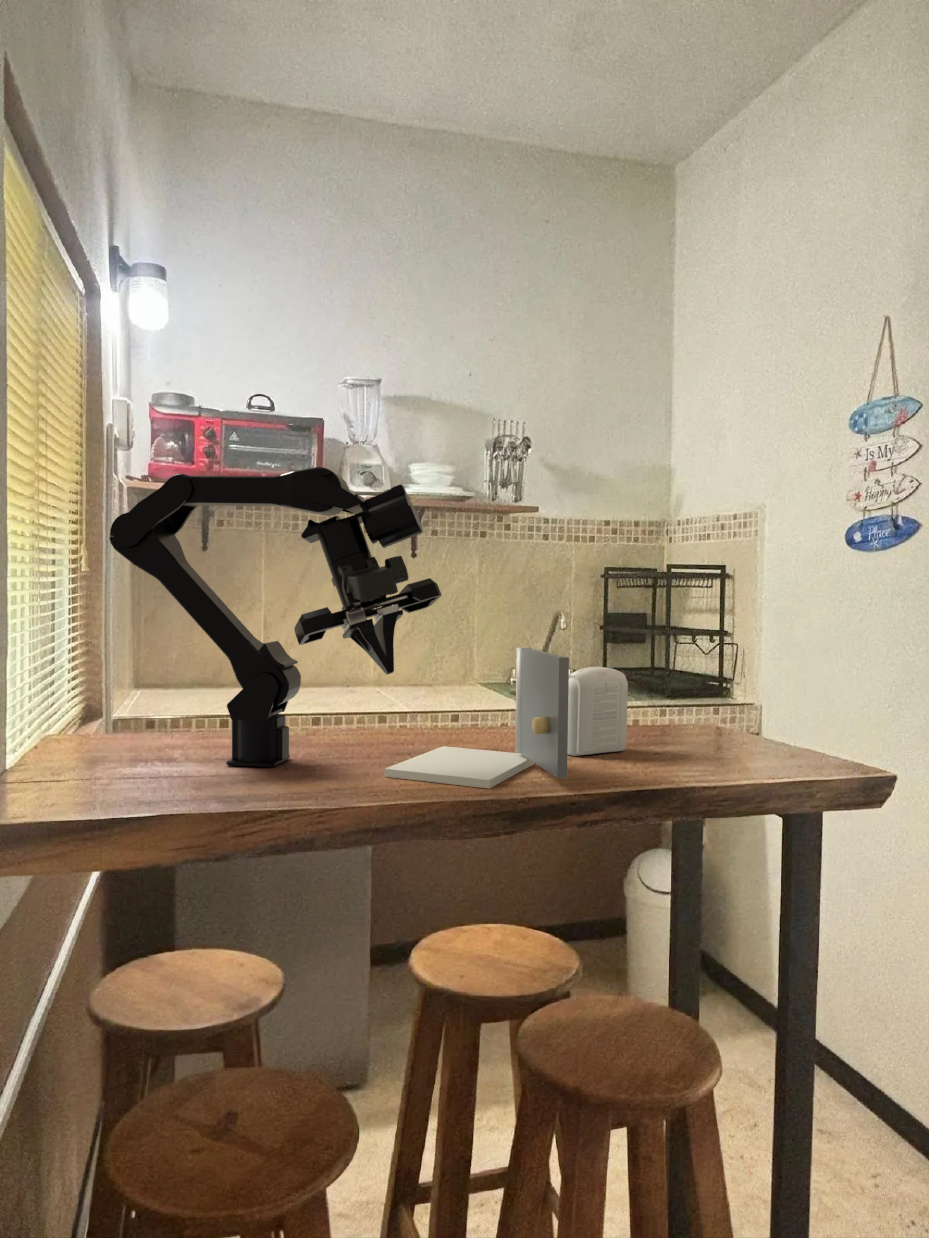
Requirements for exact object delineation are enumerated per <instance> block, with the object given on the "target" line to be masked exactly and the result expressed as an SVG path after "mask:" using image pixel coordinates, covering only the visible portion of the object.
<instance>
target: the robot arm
mask: <svg viewBox="0 0 929 1238" xmlns="http://www.w3.org/2000/svg"><path fill="white" fill-rule="evenodd" d="M199 506H214V507H216V506H217V507H218V506H221V507H224V506H225V507H226V506H228V507H281V508H284V509H285V508H286V509H290V510H295V511H301V512H303V513H309V514H315V515H319V516H324V517H326V516H327V517H330V516H331V517H330V518H327V519H325V520H322V521H320V522H317V521H314V520H312V519H308V520H307V525H306V527H304V530H303V531H302V533H301V535H300V537H301V539H302V540H305V541H306V542H308V543H310V544H313V543H316V542H318V541H319V543H320V546H321V548H322V551H323V554H324V557H325V560H326V563H327V566H328V569H329V571H330V574H331V576H332V578H331V583H332V585H333V587H335V588H336V591H337V594H338V596H339V600H340V603H341V605H342V607H341V610H339V611H334V612H332V611H331V610H330V608H328V607H323V608H320V609H319V608H318V609H317V610H312V611H308V612H305V613H302V614H301V615H300V617H299V618H298V621H297V622H296V624H295V626H294V634H295V637H296V639H297V643H298V646H302V645H306V644H309V643H313V642H316V641H320V640H322V639H323V637H324V636H325V633H326V631H328V630H329V631H330V630H332V629H336V628H338V627H341V628H342V629H343V634H342V638H343V639H344V640H345V639H346V640H347V639H351V640H352V641H353V642H355V644H357V645H358V646H359V647H360V648H362V650H364V652H365V653H367V654H368V656H369V657H370V658H371V659H372V660H373V661H374V662H375V663H376V665H377V666H378V667H379V668H380V669H381V670H382V671H383V673H384V674H385V675H391V674H393V673H394V672H395V661H394V660H395V657H394V656H395V654H394V650H395V649H394V636H395V629H396V628H395V627H396V624H397V622H398V620H400V619H401V618H402V617H403V616H404V612H405V613H408V614H410V613H413V612H417V611H421V610H424V609H427V608H429V607H431V606H432V605H434V604H435V602H437V601H438V600H439V599H440V598H441V597H442V593H441V591H440V590H441V589H440V587H439V585H438V583H437V581H435V580H434V579H432V578H430V577H429V578H426V579H421V580H418V581H414V582H410V583H408V584H406V585H405V586H404V587H403V589H401V590H400V591H399V589H398V586H397V584H400V583H404V582H407V581H408V580H409V573H408V569H407V566H406V563H405V561H404V559H403V556H402V555H396V556H392V557H389V558H385V560H384V566H380V565H379V562H378V560H377V558H376V556H372V553H371V551H370V548H369V544H368V542H367V540H366V539H367V538H366V536H365V534H364V530H363V528H362V525H363V527H364V529H365V532H366V534H367V536H368V539H369V541H370V542H371V543H372V544H373V545H375V544H377V543H378V542H379V544H380V546H381V547H382V549H385V548H388V547H391V546H393V545H395V544H397V543H401V542H403V541H405V540H408V539H411V538H413V537H415V536H418V535H420V534H423V533H424V528H423V525H422V523H421V519H420V517H419V514H418V511H417V509H416V508H415V507H414V505H413V503H412V501H411V499H410V497H409V495H408V493H407V491H406V488H405V486H404V485H403V484H398V485H397V484H396V486H395V485H394V486H393V487H391V488H390V489H388V490H386V491H385V492H381V493H379V494H377V495H374V496H372V497H369V498H366V499H364V496H362V495H360V494H358V493H355V494H354V493H352V492H350V488H349V485H348V483H347V482H346V480H344V478H343V477H342V476H340V475H339V474H337V473H336V472H334V471H333V470H330V469H329V468H326V467H320V466H315V467H311V468H305V469H298V470H293V471H290V472H289V471H288V472H286V473H283V474H278V475H272V476H269V475H267V476H263V475H261V476H259V475H258V476H257V475H256V476H254V475H189V474H185V473H177V474H174V475H172V476H170V478H168V479H167V480H166V481H165V482H164V483H163V484H162V485H161V486H160V487H159V488H158V489H156V490H155V491H154V492H152V493H151V494H149V495H148V496H146V497H145V498H143V499H141V500H140V501H139V502H137V503H136V504H135V505H134V506H133V508H131V509H130V510H129V511H127V512H125V513H121V514H120V515H119V516H117V517H116V518H115V520H114V521H113V522H112V524H111V527H110V528H109V529H110V530H109V537H108V539H109V542H110V544H111V546H112V547H113V549H114V550H115V551H116V552H117V553H118V554H120V555H121V556H122V557H123V558H125V559H126V560H127V561H128V562H130V563H131V564H132V565H134V566H135V567H137V568H138V569H140V570H142V571H143V572H145V573H147V574H148V575H150V576H152V577H153V578H155V579H156V580H157V581H159V582H160V583H161V584H162V586H163V587H164V588H165V590H167V591H168V593H169V594H170V595H171V596H172V597H173V598H174V599H175V600H176V601H177V602H178V604H179V605H180V606H181V607H182V608H183V609H184V610H185V611H186V613H187V614H188V616H190V617H191V618H192V619H193V620H194V622H195V623H196V624H197V625H198V626H199V627H200V628H201V630H202V631H204V633H205V634H206V635H207V636H208V637H209V639H211V641H212V642H213V643H214V644H215V646H217V647H218V648H219V650H220V651H221V652H222V653H223V654H224V655H225V656H226V658H227V659H228V660H229V663H230V665H231V668H232V670H233V673H234V677H235V678H236V681H237V682H238V684H239V686H240V687H241V690H240V691H239V692H238V693H237V694H236V695H235V696H234V697H233V698H232V699H231V700H230V701H229V702H227V704H226V708H227V709H226V710H227V711H228V714H229V717H230V719H231V758H230V759H228V760H226V761H225V762H226V766H238V767H239V766H243V767H264V768H265V767H266V768H273V767H276V766H278V765H279V764H282V763H283V762H285V761H287V760H288V759H290V758H291V755H290V727H289V725H286V714H280V713H284V712H285V711H286V709H287V706H288V704H289V701H290V700H292V699H293V698H294V697H296V695H297V694H298V693H299V691H300V688H301V686H302V685H301V683H302V682H301V681H302V679H301V678H302V675H301V673H300V671H299V668H298V667H297V666H296V665H297V664H298V663H299V661H298V660H296V659H294V658H293V657H291V656H290V655H289V654H288V653H287V652H286V650H285V648H284V647H283V645H282V644H281V643H280V641H278V640H275V641H270V642H262V641H260V640H259V639H258V638H256V637H255V636H254V635H253V634H252V632H250V630H249V629H248V628H247V626H245V625H244V623H242V621H241V620H240V619H239V618H238V617H237V616H236V615H235V614H234V613H233V611H232V610H231V609H230V608H229V607H228V606H227V604H225V602H224V601H223V600H222V599H221V597H219V596H218V595H217V593H216V592H215V591H214V590H213V589H212V588H211V586H209V584H207V582H206V581H205V580H204V579H203V578H202V576H201V575H199V573H198V572H197V571H196V570H195V569H194V567H192V566H191V565H190V563H189V562H188V561H187V558H186V555H185V554H184V550H183V546H182V545H181V542H180V541H179V539H178V538H177V536H176V535H177V534H178V532H180V530H182V529H183V527H184V526H185V524H186V523H187V521H188V520H189V518H190V516H191V515H192V513H193V512H194V510H196V509H197V508H198V507H199ZM341 512H344V513H349V514H352V515H350V516H348V517H344V518H341V517H340V516H339V514H340V513H341ZM361 524H362V525H361ZM398 592H399V593H398ZM397 593H398V594H397ZM388 595H389V596H388ZM387 596H388V597H387ZM372 617H373V618H374V620H373V618H372ZM374 621H375V624H374Z"/></svg>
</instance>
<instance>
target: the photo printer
mask: <svg viewBox="0 0 929 1238" xmlns="http://www.w3.org/2000/svg"><path fill="white" fill-rule="evenodd" d="M628 689H629V684H628V680H627V677H626V675H625V673H624V672H622V671H619V670H617V669H616V668H615V669H614V668H611V667H605V666H604V667H603V666H589V667H585V668H580V669H577V670H576V671H573V672H570V673H569V690H568V752H567V756H573V757H579V756H587V755H596V754H605V753H606V754H607V753H613V752H614V753H615V752H624V751H625V750H626V749H627V739H628V738H627V736H628V735H627V734H628V733H627V730H628V727H627V726H628V725H627V724H628V698H629V697H628V695H629V694H628V693H629V692H628V691H629V690H628Z"/></svg>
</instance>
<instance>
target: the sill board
mask: <svg viewBox="0 0 929 1238" xmlns="http://www.w3.org/2000/svg"><path fill="white" fill-rule="evenodd" d="M535 764H536V763H534V762H533V761H531V760H530V759H528V758H527V757H525V756H524V755H522V754H521V753H517V752H508V751H507V752H506V751H499V750H490V749H489V750H486V749H477V748H476V749H475V748H465V747H457V746H455V747H454V746H445V745H443V746H440V747H437V748H434V749H432V750H430V751H428V752H424V753H422V754H420V755H417V756H415V757H414V756H413V757H411V758H409V759H406V760H403V761H402V762H398V763H396V764H393V765H390V766H388V767H385V768H384V777H385V778H393V779H402V780H410V781H419V782H420V781H421V782H427V783H428V782H430V783H435V784H444V785H445V784H446V785H453V786H454V785H455V786H462V787H463V786H465V787H472V788H481V789H482V788H483V789H492V788H494V787H495V786H496V785H499V784H500V783H502V782H504V781H506V780H509V778H512V777H513V776H515V775H517V774H518V773H520V772H522V771H523V770H526V769H528V768H529V767H531V766H533V765H535Z"/></svg>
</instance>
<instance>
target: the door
mask: <svg viewBox="0 0 929 1238" xmlns="http://www.w3.org/2000/svg"><path fill="white" fill-rule="evenodd" d="M515 659H516V664H515V665H516V667H515V669H516V670H515V672H516V673H515V674H516V675H515V727H514V728H515V730H514V731H515V732H514V733H515V736H514V737H515V739H514V740H515V741H514V742H515V744H514V747H515V748H514V750H515V751H514V753H521V754H522V755H524V756H525V757H527V758H528V759H530V760H531V761H533V762H534V763H535V764H536V765H537V766H539V767H540V768H541V769H543V770H545V771H546V772H548V773H550V774H551V775H552V776H554V777H556V778H557V779H559V778H560V779H562V778H564V779H565V778H568V754H567V752H568V690H569V674H570V657H568V656H564V655H558V654H555V653H551V652H546V651H542V650H539V649H533V648H532V647H516V657H515Z"/></svg>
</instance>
